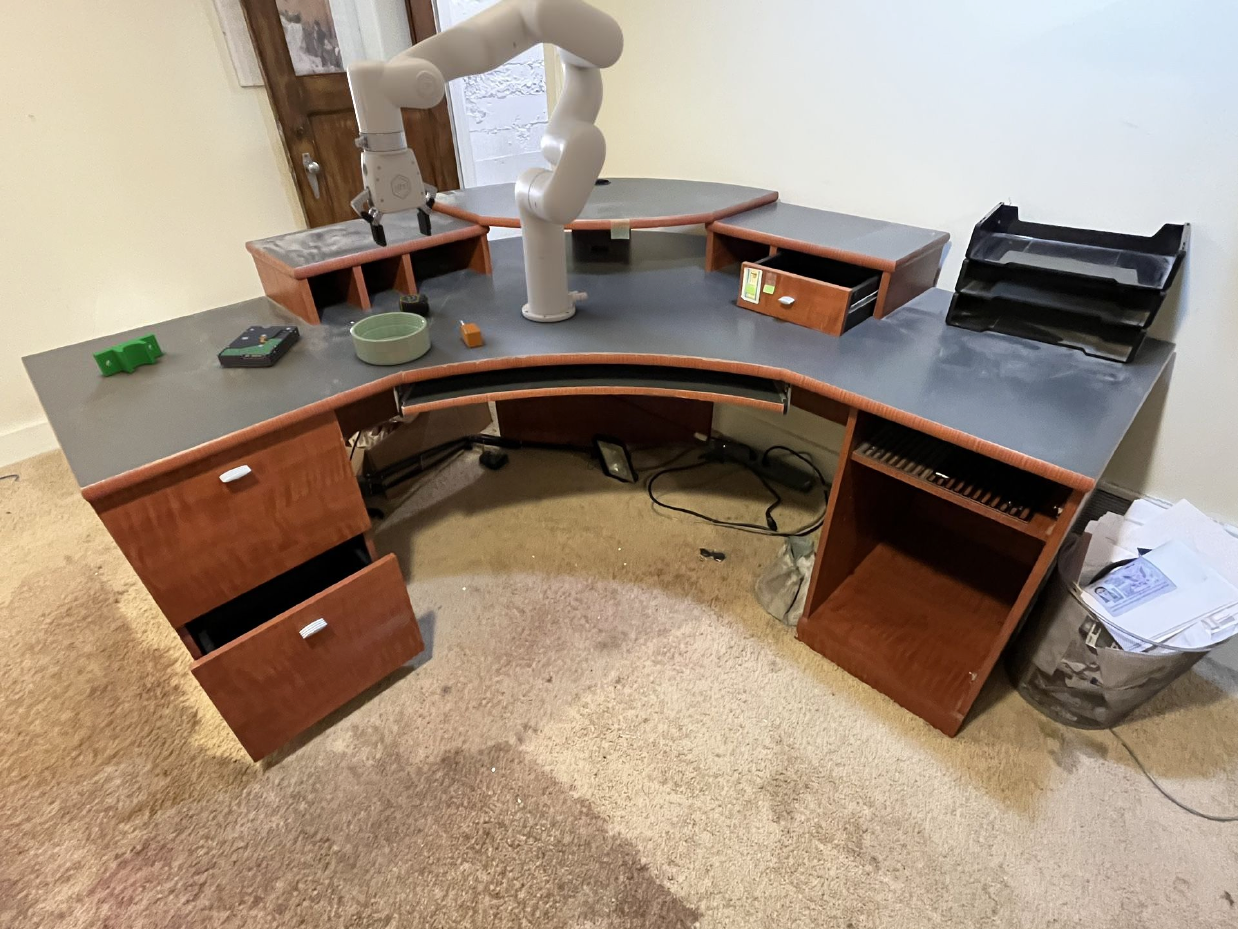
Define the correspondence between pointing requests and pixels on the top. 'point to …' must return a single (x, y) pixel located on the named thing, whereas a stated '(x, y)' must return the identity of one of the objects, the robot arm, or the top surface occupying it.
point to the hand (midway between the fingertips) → (404, 239)
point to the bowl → (391, 338)
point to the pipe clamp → (128, 355)
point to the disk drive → (259, 346)
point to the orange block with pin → (471, 334)
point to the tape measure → (414, 304)
